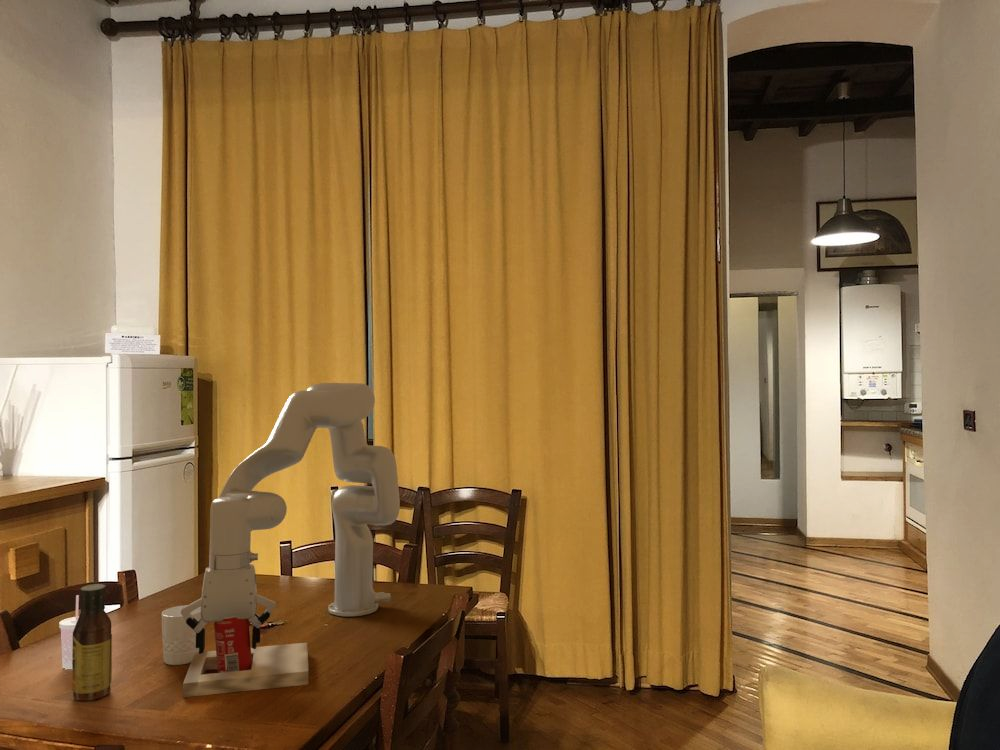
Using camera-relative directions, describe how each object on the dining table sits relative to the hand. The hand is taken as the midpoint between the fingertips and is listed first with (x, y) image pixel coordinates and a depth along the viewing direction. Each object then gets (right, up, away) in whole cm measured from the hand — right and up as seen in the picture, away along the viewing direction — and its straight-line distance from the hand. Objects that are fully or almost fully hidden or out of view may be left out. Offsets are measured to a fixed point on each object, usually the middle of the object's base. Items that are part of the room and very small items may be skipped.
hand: (228, 648), depth 138 cm
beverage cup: (-33, -5, +5) cm, 34 cm away
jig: (+4, -5, +1) cm, 7 cm away
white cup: (-13, -6, +9) cm, 17 cm away
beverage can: (+1, -5, 0) cm, 5 cm away
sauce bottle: (-21, -5, -9) cm, 24 cm away
